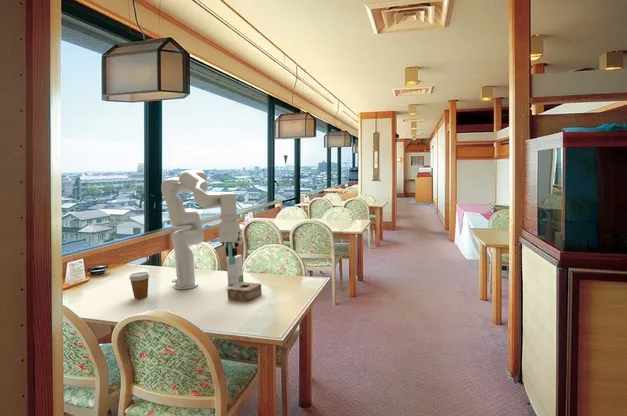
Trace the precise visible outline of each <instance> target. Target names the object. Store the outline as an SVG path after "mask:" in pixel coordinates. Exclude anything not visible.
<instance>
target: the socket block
mask: <svg viewBox="0 0 627 416" xmlns="http://www.w3.org/2000/svg"><path fill="white" fill-rule="evenodd" d="M262 293H263V292H262V283H259V282H258V283H257V282H246V281H245V282H240V283H238V284H236V285H231V286H230V287H229V288H227V300H228V301H237V302H238V301H239V302H248V303H250V302H252V301H253V300H255V299H257V298H259V296H261V295H262Z"/></svg>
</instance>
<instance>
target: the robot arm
mask: <svg viewBox="0 0 627 416" xmlns="http://www.w3.org/2000/svg"><path fill="white" fill-rule="evenodd" d="M207 181H208V177H207V174H206V173H205V171H204V170H201V169H191V170H188V169H187V170H184V171H182V172H180V174H179V176H177V177H170V178H166V179H164V180H163V181H162V183H161V187H160V188H161V189H160V191H161V195H162V197H163V200H164V201H165V204H166V206H167V212H168V215H169V216H168V217H169V220H170V224H171V226H172V227H174V228H175V229H177V228H184V227H186V228H184V229H179V230H176V231H174V232H173V233H172V234H171V242H172V245H173V246H172V247H173V250H174V259H175V274H176V277H173V279H172V280H171V282H172V283H175V284H174V289H175V290H180V291H181V290H189V289H194V288H197V287H198V286H199V282H197V281H196V274H195V258H194V252H193V251H192V249H191V248H190V247H191V246H196V245H200V244H202V243H203V242H204V240H205V239H204V237H205V236H204V235H205V234H204V230H203V226H202V221H201V218H200V214H199V212H198V211H197V210H196V209H194V208H185V206H184V201H183V200H182V198H181V197H180V196H179V195H177V194H181V193H182V194H184V193H191V192H192V196H193V200H194V201H195V202H196V203H197V205H199V206H201V207H202V208H204V209H206V210H207V209H209V210H211V209H218V208H220V215H219V220H220V221H219V225H218V238H219V239H218V240H219V241H218V242H219V243H220V244H221V245H223V247H224V249H225V256H226V257H228V242H232V245H233V248H232V256H237V255H238V247H239V246H240V245H241V244H242V243H243V242H244V241H243V238H242V233H241V225H240V222H239V220H238V212H237V199H236V193H234V192H226V191H217V192H208V193H207V190H208V188H209V184H208V182H207ZM187 227H189V228H187Z"/></svg>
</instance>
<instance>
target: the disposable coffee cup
mask: <svg viewBox="0 0 627 416" xmlns="http://www.w3.org/2000/svg"><path fill="white" fill-rule="evenodd" d="M128 279H129V281H130V285H131V288H132V293H133V299H135V298H138V299H137V300H140V299H139V298H143V299H146V298H148V297H149V296H148V295H149V279H150V274H149V273H148V272H146V271H141V272H140V271H139V272H135V273H131V274H130V275H129V278H128ZM147 296H148V297H147ZM145 297H146V298H145Z"/></svg>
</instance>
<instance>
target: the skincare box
mask: <svg viewBox="0 0 627 416" xmlns="http://www.w3.org/2000/svg"><path fill="white" fill-rule="evenodd" d="M225 259H226V260H225V261H226V272H227V273H226V274H227V285H228V286H234V285H236V284H238V283H240V282H244V268H243V256H242V254H237V256H235V264H233V265H229V256H226V257H225Z"/></svg>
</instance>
